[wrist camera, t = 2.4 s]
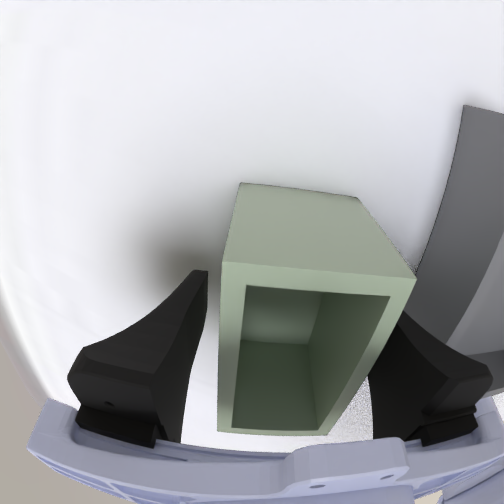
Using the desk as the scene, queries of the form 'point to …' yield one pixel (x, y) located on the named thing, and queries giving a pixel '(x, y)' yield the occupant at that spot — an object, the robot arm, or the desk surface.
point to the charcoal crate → (468, 250)
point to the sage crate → (302, 309)
